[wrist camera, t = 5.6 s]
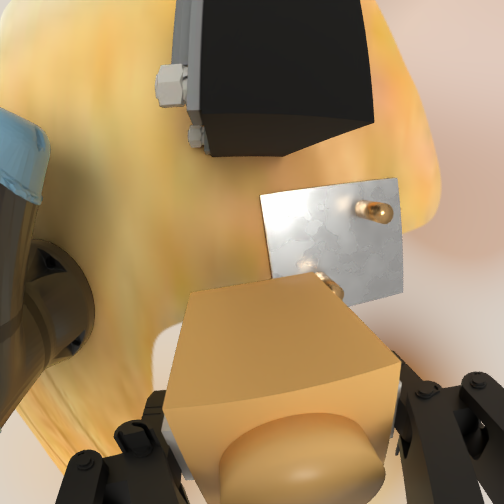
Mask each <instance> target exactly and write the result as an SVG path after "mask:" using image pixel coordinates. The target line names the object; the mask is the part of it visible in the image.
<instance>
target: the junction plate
mask: <svg viewBox="0 0 504 504" xmlns="http://www.w3.org/2000/svg"><path fill="white" fill-rule="evenodd" d="M259 196H260V202H261V209H262V215H263V222H264V228H265V235H266V241H267V248H268V254H269V261H270V268H271V275H272V279H274V278H280V277H286V276H292V275H297V274H303V273H308V272H314V273H316V272H324V273H325V274H326V275H327V276H328V277H330V278H331V279H332V280H333V281H334V282H335V283H337V284H338V285H339V286H340V287H341V288H342V289H343V291H344V298H343V300H342V301H343V302H344V303H345V304H346V305H347V306H348V307H349V306H353V305H357V304H361V303H365V302H369V301H373V300H377V299H380V298H384V297H388V296H392V295H395V294H399V293H402V292H403V249H402V227H401V212H400V200H399V190H398V180H397V178H387V179H377V180H368V181H360V182H351V183H343V184H335V185H327V186H320V187H312V188H305V189H298V190H291V191H285V192H278V193H271V194H265V195H259ZM360 200H367V201H374V202H380V203H386V204H389V205H390V206H391V207H392V208H393V212H394V215H393V219H392V220H391V222H389V223H388V224H381V223H377V222H374V221H370V220H367V219H363V218H360V217H358V216H357V215H356V213H355V206H356V204H357V202H359V201H360Z"/></svg>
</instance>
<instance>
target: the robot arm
mask: <svg viewBox="0 0 504 504" xmlns="http://www.w3.org/2000/svg"><path fill="white" fill-rule="evenodd" d="M50 151H51V147H50V141H49V138H48V136H47V134H46V133H45V131H44V130H42V129H41V128H40V127H39V126H37V125H36V124H34V123H32V122H30V121H28V120H26V119H24V118H22V117H20V116H18V115H16V114H14V113H12V112H9V111H7V110H5V109H3V108H1V107H0V433H1V428H2V427H3V425H4V424H5V423H6V421H7V420H8V418H9V417H10V415H11V414H12V412H13V411H14V410H15V408H16V407H17V406H18V404H19V403H20V401H21V400H22V399H23V397H24V396H25V395H26V393H27V392H28V391H29V389H30V388H31V387H32V385H33V384H34V383H35V381H36V380H37V379H38V377H39V376H40V375H41V373H42V372H43V371H44V370H45V369H46V368H48V367H50V366H53V365H55V364H57V363H60V362H62V361H64V360H67V359H69V358H71V357H72V356H74V355H75V354H76V353H77V352H78V351H79V350H80V349H81V348H82V346H83V345H84V344H85V342H86V341H87V339H88V338H89V336H90V334H91V332H92V329H93V325H94V317H95V309H94V301H93V296H92V292H91V289H90V287H89V284H88V282H87V279H86V277H85V276H84V274H83V272H82V270H81V269H80V267H79V266H78V265H77V263H76V262H75V261H74V260H73V259H72V258H71V257H70V256H69V255H68V254H67V253H66V252H65V251H64V250H62V249H61V248H60V247H58V246H56V245H54V244H52V243H50V242H47V241H44V240H38V239H32V234H33V229H34V224H35V219H36V214H37V210H38V206H39V205H41V202H42V200H43V197H42V195H41V193H42V188H43V183H44V179H45V174H46V170H47V166H48V162H49V158H50ZM391 351H392V350H391ZM392 352H393V353H394V354H395V355H396V357H397V358H398V359H399V360H400V361H401V369H400V378H399V385H398V393H397V399H396V406H395V412H394V418H393V423H392V429H391V434H390V438H392V437H393V433H394V428H396V430H397V431H398V433H399V434H400V435H399V439H398V444H397V448H396V453H395V455H398V453H399V451H400V457H401V463H402V469H403V476H404V483H405V490H406V498H407V504H484V500H483V497H482V493H481V490H480V487H479V483H480V484H481V486H482V487H483V489H484V490H485V492H486V493H487V495H488V496H489V498H490V499H491V501H492V503H493V504H504V388H503V387H502V386H501V385H500V384H498V383H497V382H496V381H495V380H494V379H493V378H492V377H491V376H489V375H488V374H486V373H483V372H471V373H468V374H467V375H466V376H464V378H463V379H462V383H461V385H459V386H454V387H448V388H442V387H441V386H440V385H439V384H437V383H435V382H432V381H423V380H422V379H421V378H420V377H419V376H418V375H417V374H416V373H415V372H414V371H413V370H412V369H411V368H410V367H409V366H408V365H407V364H405V362H404V361H403V360H402V359H401V358H400V357H399V356H398V355H397V354H396V353H395V352H394V351H392ZM165 394H166V390H160V391H154V392H153V393H152V394H151V395H150V396H149V397H148V399H147V402H146V405H145V409H144V412H143V416H142V419H141V420H131V421H128V422H125V423H123V424H122V425H120V426H119V427H118V428H117V429H116V431H115V433H114V439H115V440H116V442H117V444H118V446H119V447H120V449H121V451H122V452H123V453H121V454H118V455H114V456H109V457H105V458H102V456H101V455H100V453H98V452H96V451H94V450H83V451H80V452H78V453H76V454H75V455H74V456H72V458H71V459H70V461H69V463H68V466H67V469H66V472H65V475H64V478H63V481H62V484H61V487H60V490H59V493H58V496H57V499H56V503H55V504H190V503H189V500H188V498H187V495H186V492H185V490H184V487H183V485H182V484H181V473H182V474H183V476H184V478H185V480H194V478H193V476H192V474H191V472H190V470H189V468H188V466H187V464H186V462H185V460H184V457H183V455H182V453H181V451H180V449H179V447H178V445H177V442H176V440H175V438H174V436H173V433H172V431H171V429H170V426H169V424H168V422H167V419H166V417H165V415H164V412H163V410H162V408H163V404H164V399H165ZM481 422H482V423H483V424H484V425H485V426H484V425H483V424H482V423H481ZM478 481H479V483H478Z"/></svg>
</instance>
